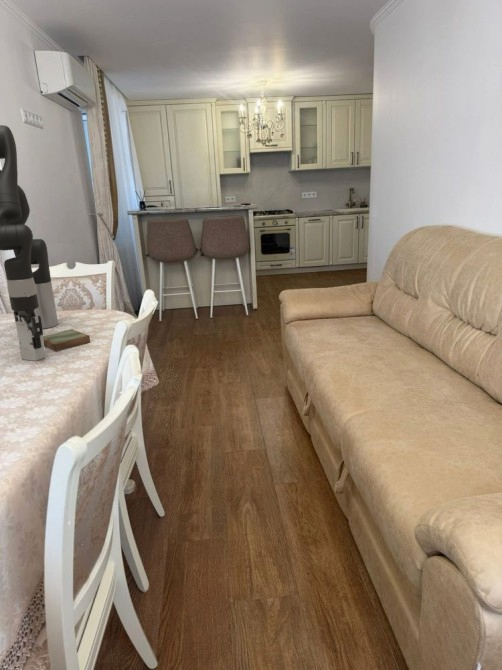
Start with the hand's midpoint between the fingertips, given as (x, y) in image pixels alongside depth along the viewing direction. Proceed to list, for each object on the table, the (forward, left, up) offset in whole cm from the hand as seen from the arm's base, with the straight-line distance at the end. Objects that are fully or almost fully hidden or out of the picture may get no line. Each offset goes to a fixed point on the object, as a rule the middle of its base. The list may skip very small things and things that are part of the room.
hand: (32, 345), depth 138 cm
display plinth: (-6, +13, -4) cm, 15 cm away
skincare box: (0, 0, -4) cm, 4 cm away
